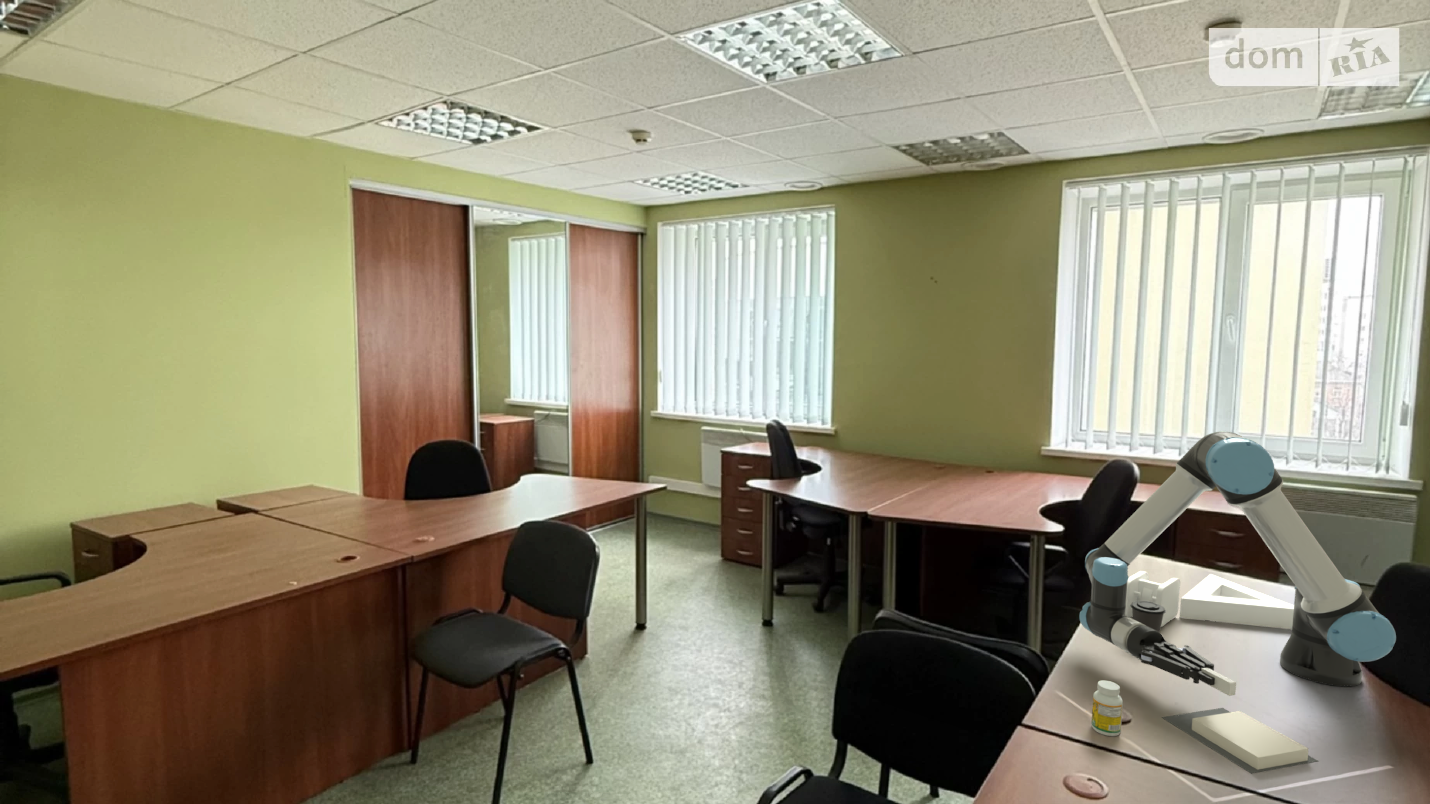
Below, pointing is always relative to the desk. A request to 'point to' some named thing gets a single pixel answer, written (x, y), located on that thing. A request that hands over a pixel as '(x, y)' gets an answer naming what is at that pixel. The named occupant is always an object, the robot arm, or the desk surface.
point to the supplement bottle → (1107, 709)
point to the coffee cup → (1148, 614)
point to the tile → (1250, 740)
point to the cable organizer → (1153, 594)
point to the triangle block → (1234, 605)
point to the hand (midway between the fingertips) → (1232, 689)
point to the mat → (1186, 725)
